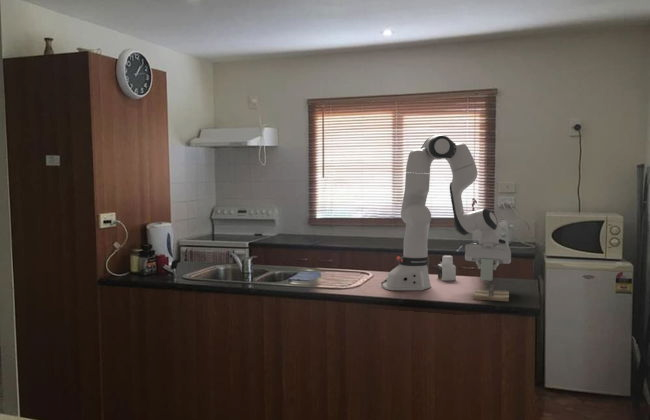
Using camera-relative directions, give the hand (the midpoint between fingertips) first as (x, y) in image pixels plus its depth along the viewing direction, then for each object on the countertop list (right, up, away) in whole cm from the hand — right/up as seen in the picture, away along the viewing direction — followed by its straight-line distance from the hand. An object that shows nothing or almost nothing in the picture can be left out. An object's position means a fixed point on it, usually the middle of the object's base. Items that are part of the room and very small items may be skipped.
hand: (486, 268), depth 250 cm
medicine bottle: (-12, -8, +28) cm, 32 cm away
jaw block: (0, -5, +1) cm, 5 cm away
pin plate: (-1, -11, -12) cm, 16 cm away
